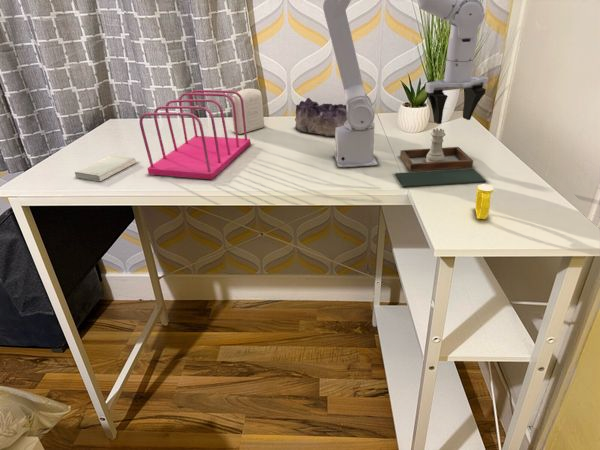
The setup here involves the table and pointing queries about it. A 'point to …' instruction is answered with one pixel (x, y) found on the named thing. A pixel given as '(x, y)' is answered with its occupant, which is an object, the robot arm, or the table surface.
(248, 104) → the white rounded block
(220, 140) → the file sorter
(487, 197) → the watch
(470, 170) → the desk mat
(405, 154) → the desk tray
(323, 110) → the geode
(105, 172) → the hard drive
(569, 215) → the table surface
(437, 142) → the rook chess piece
